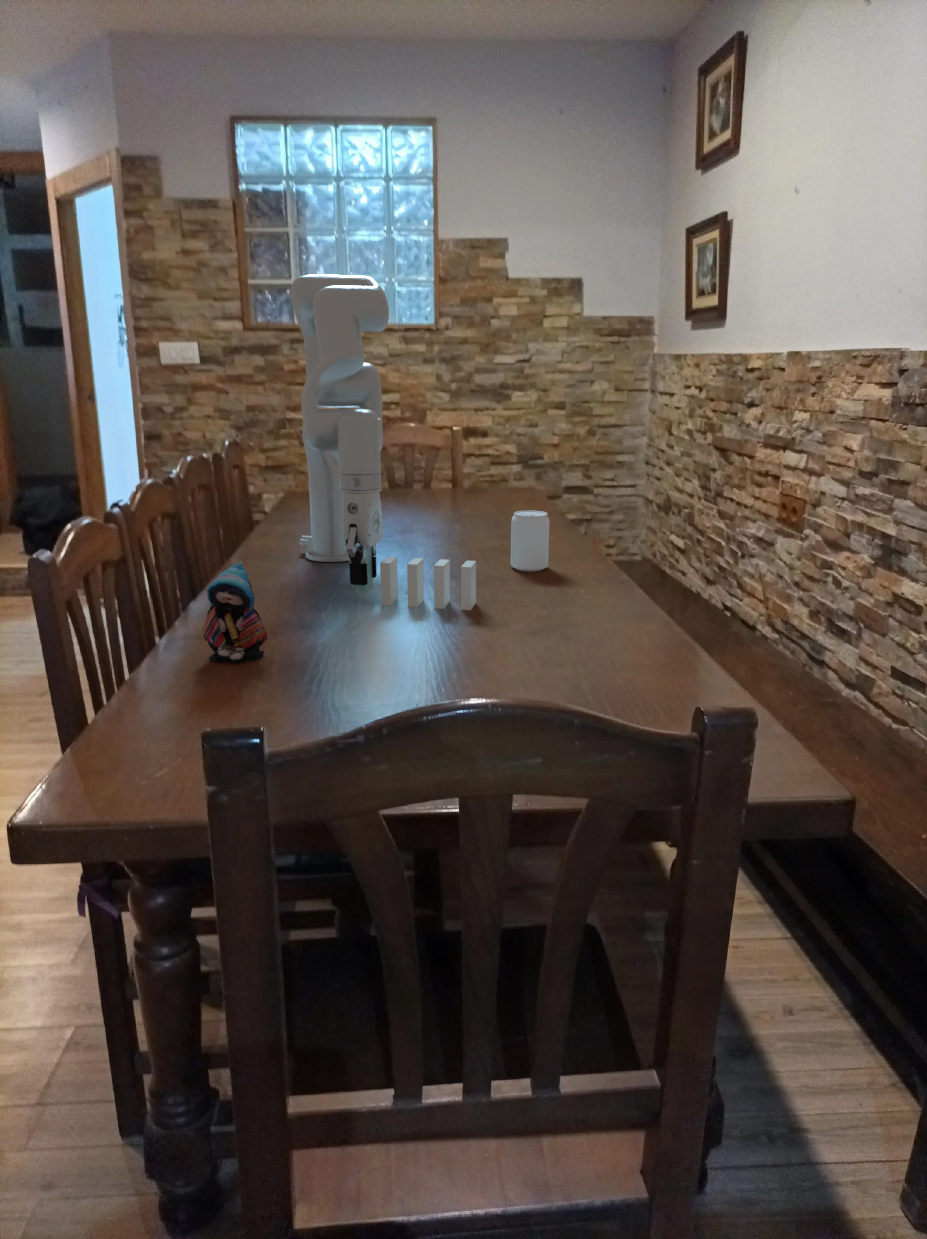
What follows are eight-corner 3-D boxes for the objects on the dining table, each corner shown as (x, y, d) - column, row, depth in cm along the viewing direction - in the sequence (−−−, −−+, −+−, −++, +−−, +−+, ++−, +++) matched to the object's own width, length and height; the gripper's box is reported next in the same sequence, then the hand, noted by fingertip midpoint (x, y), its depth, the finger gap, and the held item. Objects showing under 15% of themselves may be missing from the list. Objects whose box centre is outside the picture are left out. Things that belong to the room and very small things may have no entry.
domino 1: (355, 593, 159) (353, 550, 157) (363, 586, 164) (362, 545, 162) (364, 593, 159) (363, 550, 157) (372, 587, 164) (371, 545, 161)
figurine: (196, 668, 127) (187, 568, 122) (210, 652, 133) (202, 557, 129) (264, 668, 126) (257, 569, 122) (275, 653, 133) (269, 557, 129)
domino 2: (381, 605, 159) (380, 562, 157) (388, 598, 164) (387, 556, 161) (390, 605, 159) (389, 563, 156) (397, 598, 163) (397, 557, 161)
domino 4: (434, 608, 157) (434, 565, 155) (440, 600, 162) (440, 559, 160) (444, 608, 157) (443, 565, 155) (449, 601, 162) (449, 559, 159)
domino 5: (461, 609, 156) (461, 566, 154) (466, 602, 161) (466, 560, 159) (470, 610, 156) (471, 567, 154) (475, 602, 161) (476, 560, 158)
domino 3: (407, 606, 158) (407, 564, 156) (414, 599, 163) (414, 558, 160) (417, 607, 158) (416, 564, 155) (423, 600, 162) (423, 558, 160)
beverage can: (545, 573, 183) (547, 517, 179) (507, 571, 184) (508, 515, 181) (549, 564, 190) (551, 510, 187) (513, 563, 192) (514, 509, 188)
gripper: (366, 489, 147) (369, 593, 152) (393, 477, 163) (395, 571, 168) (324, 488, 148) (328, 591, 154) (355, 476, 164) (358, 569, 170)
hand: (363, 579), depth 161 cm, fingers closed on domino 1, 4 cm apart
